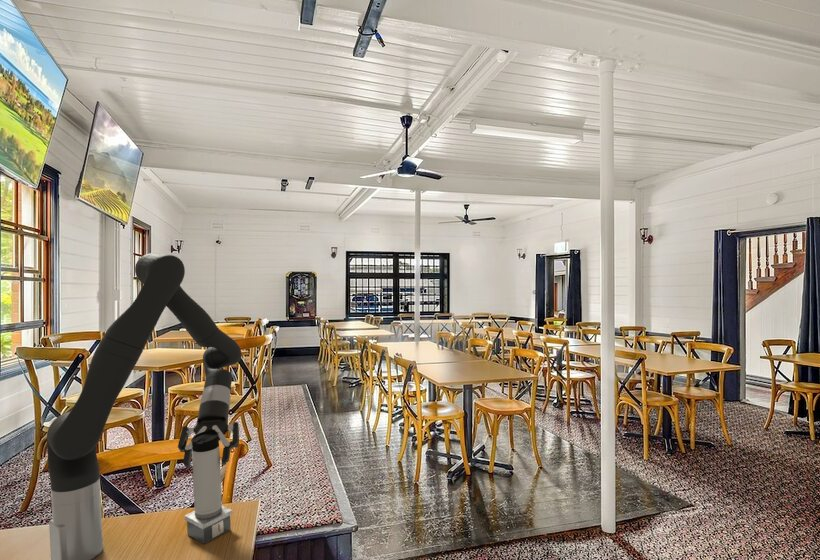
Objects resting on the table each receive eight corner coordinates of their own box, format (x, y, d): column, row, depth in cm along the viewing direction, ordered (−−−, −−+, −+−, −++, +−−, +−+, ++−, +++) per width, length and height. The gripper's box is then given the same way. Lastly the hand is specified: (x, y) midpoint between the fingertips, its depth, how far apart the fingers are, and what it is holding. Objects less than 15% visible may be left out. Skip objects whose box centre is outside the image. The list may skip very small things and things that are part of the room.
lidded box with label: (203, 545, 110) (202, 525, 110) (185, 535, 115) (184, 515, 115) (232, 529, 117) (232, 510, 117) (214, 520, 122) (213, 501, 121)
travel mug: (227, 505, 119) (224, 429, 118) (214, 519, 113) (210, 439, 112) (204, 504, 120) (200, 428, 119) (189, 519, 113) (186, 438, 112)
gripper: (183, 401, 121) (171, 462, 111) (240, 397, 124) (233, 456, 113) (189, 414, 127) (178, 474, 116) (244, 410, 129) (238, 468, 119)
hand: (205, 465), depth 115 cm, fingers open, 8 cm apart
